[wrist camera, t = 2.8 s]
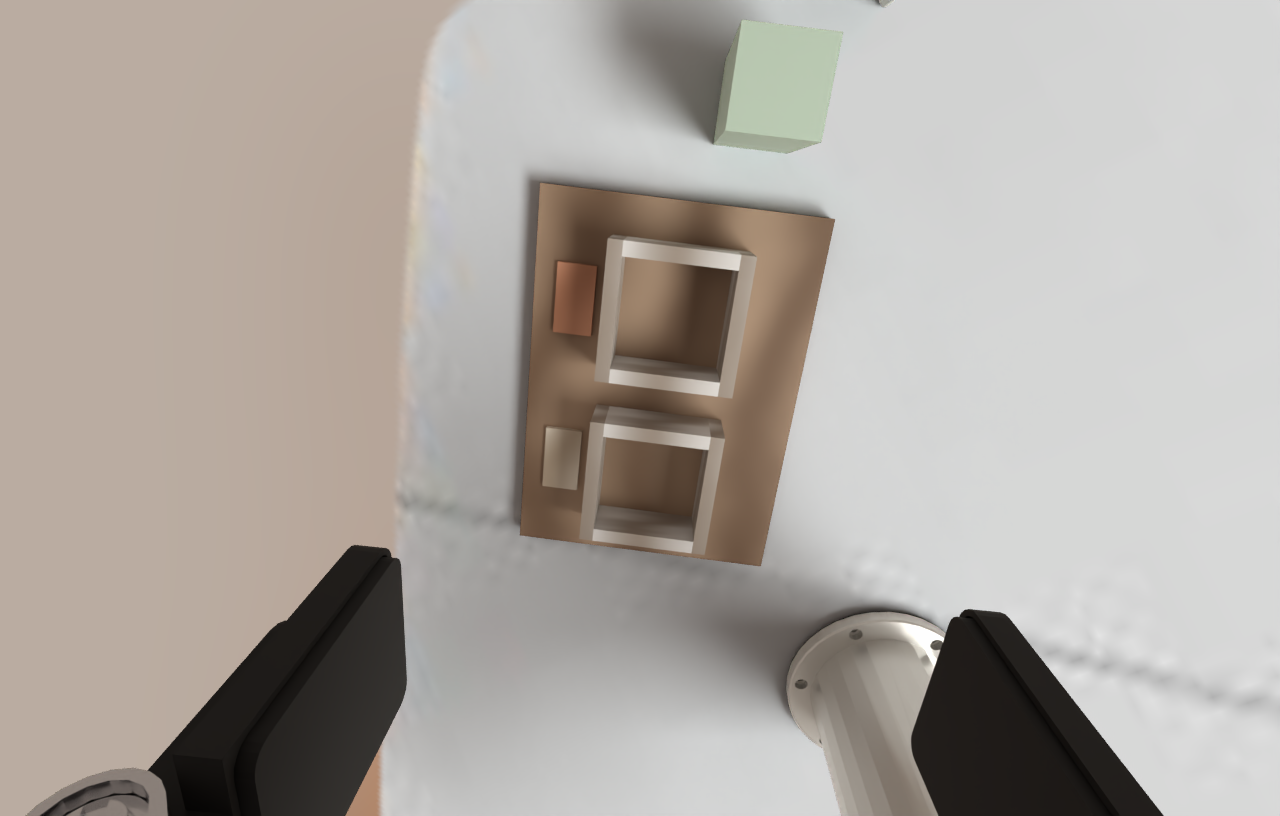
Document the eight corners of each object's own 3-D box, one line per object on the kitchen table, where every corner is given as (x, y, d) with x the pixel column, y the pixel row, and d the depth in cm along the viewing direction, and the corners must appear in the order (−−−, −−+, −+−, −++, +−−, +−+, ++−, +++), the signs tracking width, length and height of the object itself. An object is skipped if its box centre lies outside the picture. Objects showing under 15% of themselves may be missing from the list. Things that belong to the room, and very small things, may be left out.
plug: (802, 70, 31) (843, 31, 24) (787, 153, 33) (821, 142, 25) (725, 60, 32) (741, 19, 24) (713, 144, 33) (725, 130, 25)
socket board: (830, 218, 34) (850, 222, 30) (758, 557, 41) (767, 594, 37) (543, 183, 34) (527, 181, 30) (523, 527, 41) (508, 560, 38)
